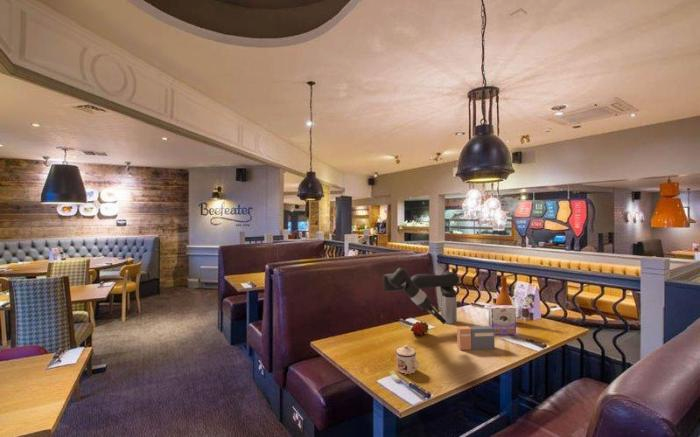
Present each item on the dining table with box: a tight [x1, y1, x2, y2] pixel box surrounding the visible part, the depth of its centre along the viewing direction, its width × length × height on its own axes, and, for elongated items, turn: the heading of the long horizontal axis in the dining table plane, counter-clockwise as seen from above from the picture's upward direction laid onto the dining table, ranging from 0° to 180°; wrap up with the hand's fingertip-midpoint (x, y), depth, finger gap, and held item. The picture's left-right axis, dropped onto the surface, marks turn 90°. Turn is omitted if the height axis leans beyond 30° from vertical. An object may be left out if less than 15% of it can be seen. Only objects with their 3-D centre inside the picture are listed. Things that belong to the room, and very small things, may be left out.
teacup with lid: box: [395, 344, 420, 375], centre depth 150 cm, size 12×9×12 cm
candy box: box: [488, 304, 517, 336], centre depth 192 cm, size 14×6×16 cm, turn 84°
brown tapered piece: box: [495, 276, 513, 306], centre depth 211 cm, size 10×10×30 cm
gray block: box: [469, 325, 496, 351], centre depth 173 cm, size 12×4×11 cm, turn 91°
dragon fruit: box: [410, 320, 429, 337], centre depth 194 cm, size 8×8×12 cm
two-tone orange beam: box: [456, 325, 472, 351], centre depth 173 cm, size 6×4×11 cm
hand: (442, 319), depth 173 cm, fingers open, 8 cm apart
